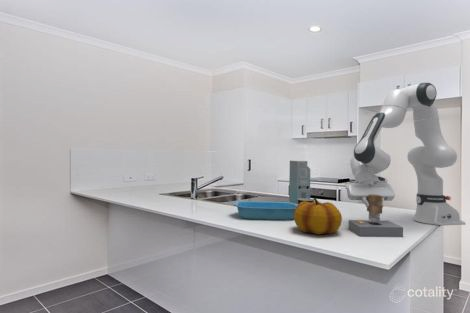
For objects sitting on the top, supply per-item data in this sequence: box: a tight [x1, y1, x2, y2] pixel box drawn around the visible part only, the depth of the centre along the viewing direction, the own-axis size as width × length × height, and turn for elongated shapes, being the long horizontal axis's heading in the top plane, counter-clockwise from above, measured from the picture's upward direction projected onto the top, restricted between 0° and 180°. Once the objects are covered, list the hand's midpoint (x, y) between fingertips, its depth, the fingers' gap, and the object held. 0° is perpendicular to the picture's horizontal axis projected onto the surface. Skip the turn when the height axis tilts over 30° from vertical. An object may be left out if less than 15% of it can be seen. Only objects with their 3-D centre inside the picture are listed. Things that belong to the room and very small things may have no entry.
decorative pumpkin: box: [293, 197, 343, 236], centre depth 137 cm, size 20×22×15 cm
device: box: [288, 160, 311, 204], centre depth 186 cm, size 16×8×30 cm, turn 6°
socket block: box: [348, 219, 404, 238], centre depth 136 cm, size 18×13×5 cm
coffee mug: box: [298, 198, 315, 204], centre depth 166 cm, size 12×9×10 cm
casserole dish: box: [232, 200, 298, 221], centre depth 168 cm, size 37×22×7 cm, turn 89°
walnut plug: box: [366, 194, 384, 221], centre depth 135 cm, size 4×6×11 cm, turn 0°
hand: (375, 207), depth 135 cm, fingers closed on walnut plug, 4 cm apart
